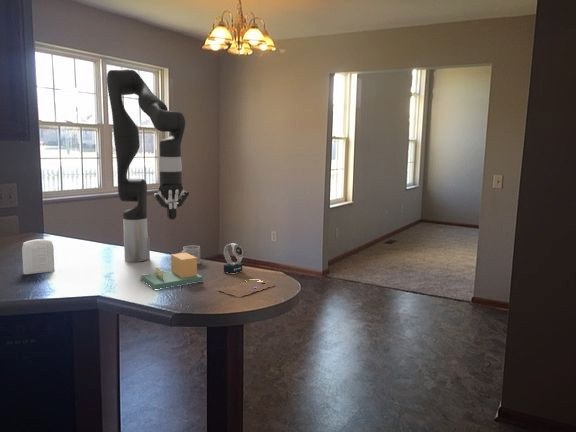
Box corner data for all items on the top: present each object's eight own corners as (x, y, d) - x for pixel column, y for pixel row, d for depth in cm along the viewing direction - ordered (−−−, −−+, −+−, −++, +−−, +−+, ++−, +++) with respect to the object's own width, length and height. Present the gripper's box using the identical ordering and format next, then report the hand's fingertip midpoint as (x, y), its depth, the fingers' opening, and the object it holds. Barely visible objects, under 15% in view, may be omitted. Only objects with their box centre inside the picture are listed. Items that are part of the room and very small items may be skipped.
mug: (192, 260, 197) (192, 244, 196) (203, 262, 193) (203, 246, 192) (173, 265, 189) (173, 248, 188) (185, 268, 185) (184, 251, 184)
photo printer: (53, 269, 180) (52, 237, 178) (55, 271, 177) (53, 239, 175) (22, 272, 175) (20, 239, 173) (24, 275, 171) (21, 241, 169)
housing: (186, 269, 175) (185, 252, 174) (197, 275, 168) (196, 257, 167) (171, 272, 172) (171, 254, 171) (182, 278, 164) (181, 259, 163)
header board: (186, 273, 178) (186, 260, 177) (202, 282, 167) (202, 268, 166) (141, 280, 168) (141, 266, 167) (155, 290, 157) (155, 275, 156)
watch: (236, 275, 176) (236, 246, 174) (220, 271, 181) (220, 243, 179) (246, 272, 181) (246, 243, 179) (230, 268, 185) (230, 241, 183)
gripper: (183, 168, 172) (184, 215, 175) (147, 169, 164) (149, 219, 167) (193, 170, 166) (193, 218, 169) (156, 171, 158) (158, 222, 161)
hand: (171, 219), depth 168 cm, fingers closed
